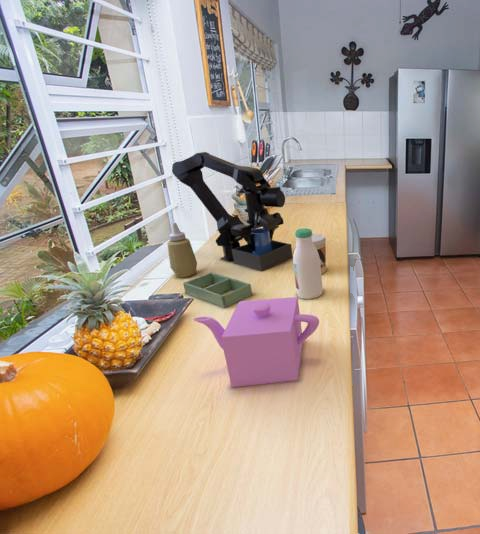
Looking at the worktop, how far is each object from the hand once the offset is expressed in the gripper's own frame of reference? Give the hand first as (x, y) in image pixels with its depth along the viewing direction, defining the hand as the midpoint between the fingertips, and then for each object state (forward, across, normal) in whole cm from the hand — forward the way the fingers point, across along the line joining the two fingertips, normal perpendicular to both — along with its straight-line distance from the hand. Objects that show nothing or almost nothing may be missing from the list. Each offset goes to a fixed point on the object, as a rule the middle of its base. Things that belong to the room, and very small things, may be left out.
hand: (261, 248), depth 140 cm
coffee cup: (+5, +2, -23) cm, 24 cm away
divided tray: (+5, -26, -10) cm, 28 cm away
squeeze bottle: (+5, -22, +13) cm, 26 cm away
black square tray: (+5, 0, 0) cm, 5 cm away
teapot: (+5, -42, -49) cm, 65 cm away
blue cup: (+4, 0, 0) cm, 5 cm away
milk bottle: (+5, -12, -34) cm, 37 cm away
